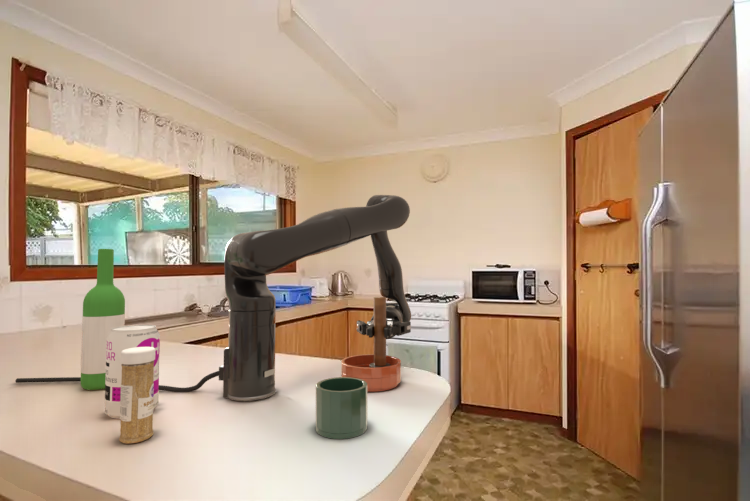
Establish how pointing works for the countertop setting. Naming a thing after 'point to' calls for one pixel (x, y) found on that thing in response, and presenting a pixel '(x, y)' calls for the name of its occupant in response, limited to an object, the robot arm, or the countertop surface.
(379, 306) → the brush
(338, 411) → the pot
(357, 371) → the bowl
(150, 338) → the supplement can
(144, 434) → the sprinkles bottle
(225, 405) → the countertop surface
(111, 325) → the wine bottle
